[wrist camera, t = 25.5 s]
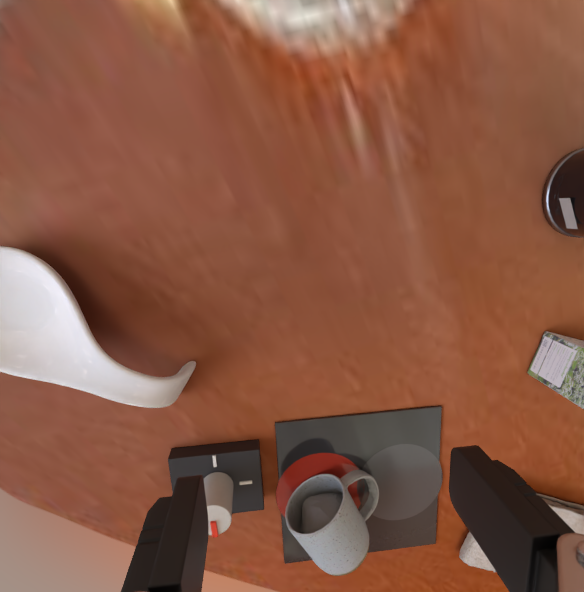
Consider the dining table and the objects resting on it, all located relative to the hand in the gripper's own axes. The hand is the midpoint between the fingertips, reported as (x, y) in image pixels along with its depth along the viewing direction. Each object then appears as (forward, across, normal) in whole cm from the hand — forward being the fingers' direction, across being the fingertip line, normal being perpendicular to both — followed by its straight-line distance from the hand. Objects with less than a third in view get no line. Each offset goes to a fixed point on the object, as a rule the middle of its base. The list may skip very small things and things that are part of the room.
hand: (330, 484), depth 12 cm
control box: (+30, +8, +22) cm, 38 cm away
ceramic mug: (+30, -5, +26) cm, 40 cm away
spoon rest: (+30, +20, +3) cm, 36 cm away
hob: (+30, -9, +26) cm, 41 cm away
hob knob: (+28, +8, +22) cm, 37 cm away
